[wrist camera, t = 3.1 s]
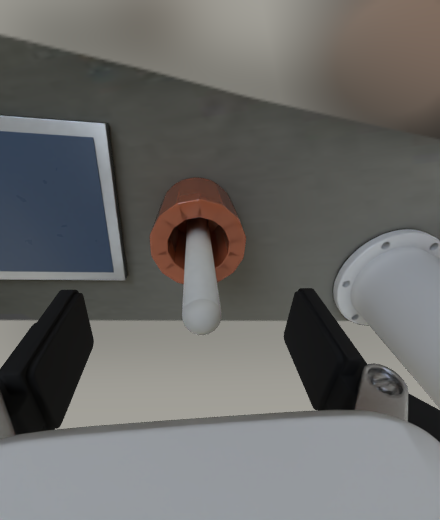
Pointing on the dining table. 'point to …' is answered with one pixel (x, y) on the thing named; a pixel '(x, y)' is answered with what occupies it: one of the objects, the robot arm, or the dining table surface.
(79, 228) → the tablet
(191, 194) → the holder
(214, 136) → the dining table surface
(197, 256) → the stylus
